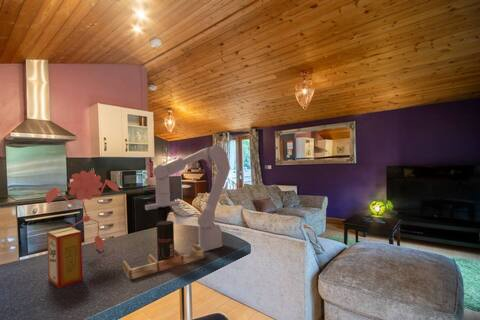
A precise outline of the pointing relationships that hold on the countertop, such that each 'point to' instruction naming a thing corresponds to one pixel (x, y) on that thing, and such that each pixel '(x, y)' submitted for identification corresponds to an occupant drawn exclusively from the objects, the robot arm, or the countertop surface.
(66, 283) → the baking soda box
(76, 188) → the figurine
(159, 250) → the deodorant
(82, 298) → the countertop surface
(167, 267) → the bay rack
